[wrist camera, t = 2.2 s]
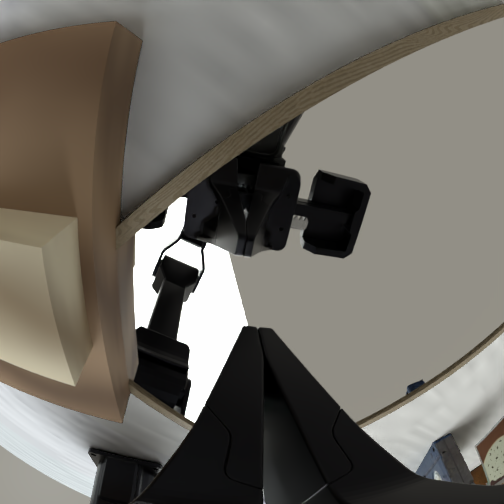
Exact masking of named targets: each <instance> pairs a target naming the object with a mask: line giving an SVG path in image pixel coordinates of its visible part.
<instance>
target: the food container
mask: <svg viewBox="0 0 504 504" xmlns="http://www.w3.org/2000/svg"><path fill="white" fill-rule="evenodd" d="M475 448H476V451H477V453H478V456H479V458H480V461H481V464H482V466H483V469H484V472H485V475H486V477H487V480H488V483H486V485H501V484H502V483H503V482H504V416H503V417H502V418H501V420H500V421H499V422H498V423H497V424H496V425H495V426H494V427H493V428H492V429H491V431H490V432H489V433H488V434H487V435H486V436H485V437H484V438H483V439H482V440H481V441H480V442H479V443H478V444H477V445H476V446H475Z"/></svg>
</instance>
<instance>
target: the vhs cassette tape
mask: <svg viewBox="0 0 504 504" xmlns="http://www.w3.org/2000/svg"><path fill="white" fill-rule="evenodd" d="M416 474H418V475H420V476H423V477H426V478H430V479H435V480H442V481H449V482H456V483H465V484H475V483H474V482H473V481H474V480H473V477H472V475H471V473H470V471H469V469H468V466H467V464H466V462H465V461H464V458H463V456H462V454H461V453H460V450H459V448H458V446H457V445H456V442H455V440H454V438H453V437H452V435H451V434H448V435H446V436H444V437H442V438H441V439H439V440H437V441H435V442H433V443H432V446H431V447H430V449H429V451H428V452H427V454H426V456H425V458H424V459H423V461H422V463H421V465H420V466H419V468H418V469H417V471H416Z"/></svg>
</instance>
